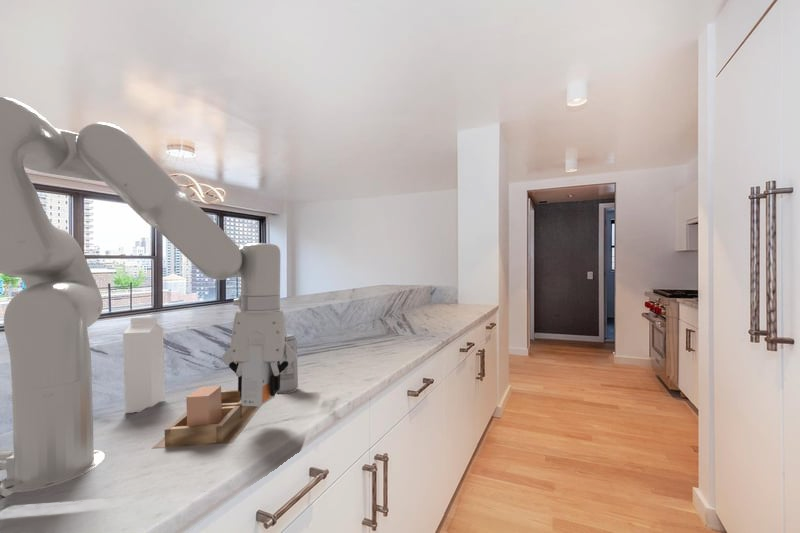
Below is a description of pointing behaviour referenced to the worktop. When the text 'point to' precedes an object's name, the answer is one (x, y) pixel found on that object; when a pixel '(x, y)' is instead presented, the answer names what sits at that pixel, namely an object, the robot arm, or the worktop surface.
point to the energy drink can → (289, 370)
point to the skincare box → (256, 378)
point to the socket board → (211, 425)
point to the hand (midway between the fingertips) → (259, 393)
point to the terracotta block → (204, 406)
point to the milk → (143, 364)
